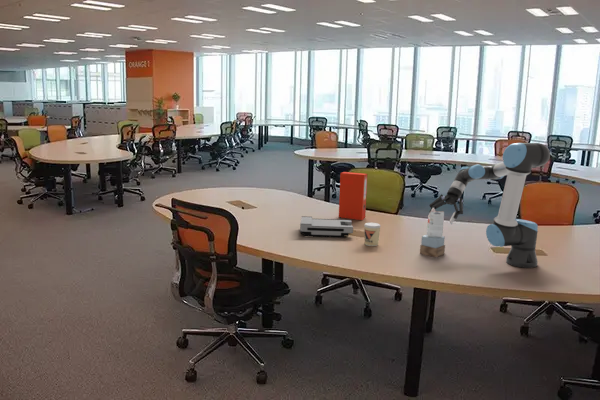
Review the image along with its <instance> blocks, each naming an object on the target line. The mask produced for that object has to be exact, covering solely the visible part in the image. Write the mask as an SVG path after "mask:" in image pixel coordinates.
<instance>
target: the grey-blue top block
mask: <svg viewBox="0 0 600 400" xmlns="http://www.w3.org/2000/svg"><path fill="white" fill-rule="evenodd" d="M445 238H446V237H445V236H444V235H443V236H442V237H428V236H427V234H424V235H422V236H421V244H420V245H423V246H428V247H432V248H438V247H441V246H444V245H445V240H446V239H445Z"/></svg>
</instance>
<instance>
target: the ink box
mask: <svg viewBox="0 0 600 400" xmlns="http://www.w3.org/2000/svg"><path fill="white" fill-rule="evenodd" d="M429 211H430V210H429ZM444 218H445V211H437V210H435V211H430V218H428V217H427V226H426V235H427V236H428V237H442V236H444V235H443V233H444V221H445V220H444Z"/></svg>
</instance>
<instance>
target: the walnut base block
mask: <svg viewBox="0 0 600 400" xmlns="http://www.w3.org/2000/svg"><path fill="white" fill-rule="evenodd" d="M419 247H420V249H419V254H421V255H424V256H429V257H434V258H439V257H440V256H442V255H444V254H445V252H446V251H445V249H446V244H444V246H441V247H438V248H432V247H428V246H423V245H421V244H420V246H419Z"/></svg>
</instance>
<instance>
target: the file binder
mask: <svg viewBox="0 0 600 400" xmlns="http://www.w3.org/2000/svg"><path fill="white" fill-rule="evenodd" d="M339 178H340V179H339V201H338V202H339V203H338V218H340V217H341V218H340V219H347V220H357V221H363V220H365V219H366V209H367V192H368V191H367V190H368V173H360V172H351V171H350V172H348V171H343V172H340V176H339ZM364 218H365V219H364Z"/></svg>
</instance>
